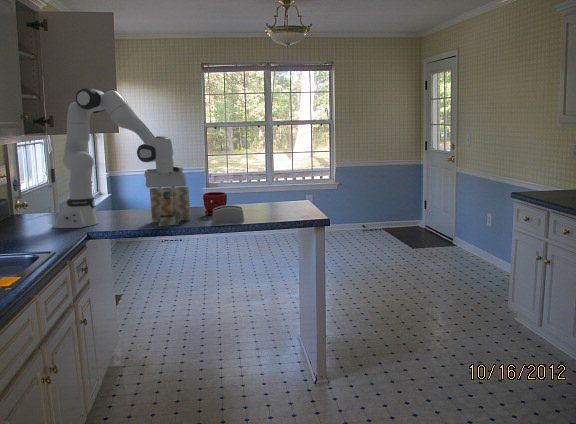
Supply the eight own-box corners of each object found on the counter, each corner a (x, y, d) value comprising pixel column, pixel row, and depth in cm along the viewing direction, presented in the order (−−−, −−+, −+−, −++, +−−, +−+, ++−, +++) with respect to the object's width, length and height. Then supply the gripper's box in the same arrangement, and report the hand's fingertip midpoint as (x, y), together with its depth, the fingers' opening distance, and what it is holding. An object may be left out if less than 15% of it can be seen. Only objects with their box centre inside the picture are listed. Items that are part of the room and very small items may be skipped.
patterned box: (148, 227, 280) (145, 192, 277) (153, 221, 296) (150, 187, 293) (188, 225, 282) (185, 190, 279) (190, 219, 298) (188, 186, 295)
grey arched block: (243, 219, 292) (243, 202, 287) (244, 223, 288) (244, 207, 283) (211, 221, 289) (210, 204, 284) (212, 226, 285) (211, 209, 280)
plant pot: (201, 216, 304) (199, 195, 302) (208, 212, 317) (206, 191, 315) (224, 216, 302) (222, 194, 300) (230, 212, 315) (229, 191, 313)
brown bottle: (162, 215, 280) (160, 192, 278) (164, 211, 290) (163, 189, 288) (172, 214, 280) (170, 192, 278) (174, 211, 290) (172, 189, 288)
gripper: (143, 170, 277) (145, 197, 279) (184, 168, 278) (186, 195, 281) (145, 168, 283) (147, 195, 286) (185, 167, 285) (187, 193, 287)
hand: (167, 195), depth 283 cm, fingers closed on brown bottle, 3 cm apart
